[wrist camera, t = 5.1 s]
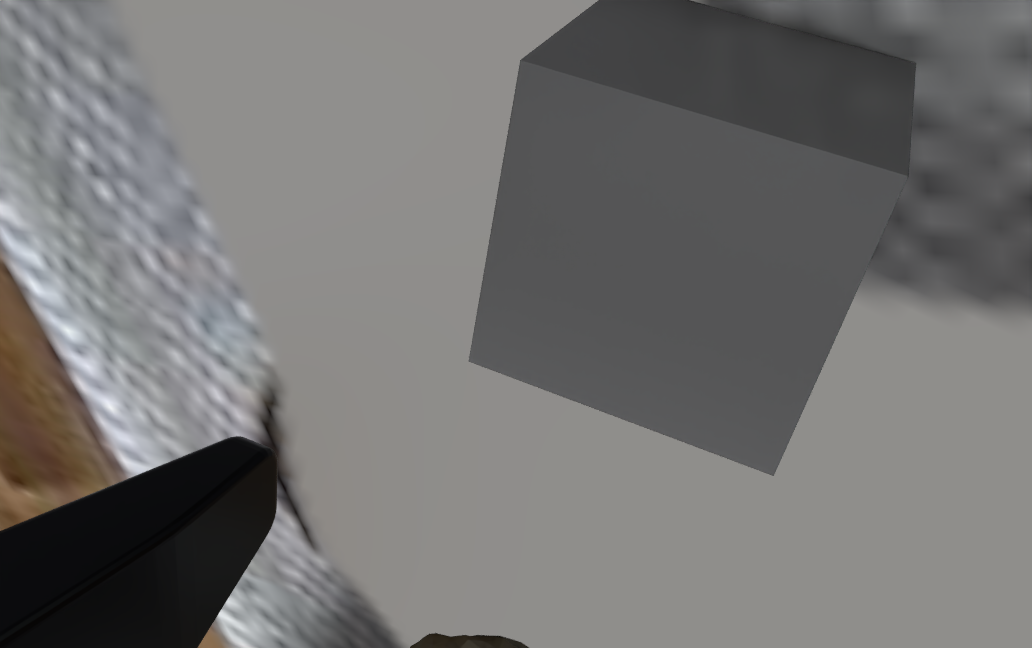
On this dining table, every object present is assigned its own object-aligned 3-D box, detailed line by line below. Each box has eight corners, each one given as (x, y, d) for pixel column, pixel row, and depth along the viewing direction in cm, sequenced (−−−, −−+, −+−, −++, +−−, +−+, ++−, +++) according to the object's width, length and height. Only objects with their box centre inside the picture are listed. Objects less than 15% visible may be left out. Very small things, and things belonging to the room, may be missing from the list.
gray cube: (809, 313, 18) (773, 475, 14) (566, 232, 19) (468, 361, 15) (916, 61, 15) (908, 176, 11) (623, -19, 16) (520, 60, 12)
